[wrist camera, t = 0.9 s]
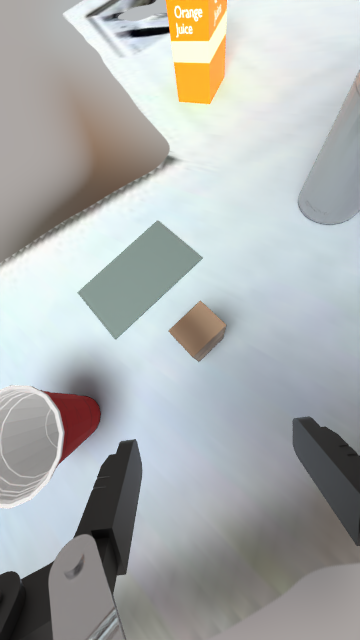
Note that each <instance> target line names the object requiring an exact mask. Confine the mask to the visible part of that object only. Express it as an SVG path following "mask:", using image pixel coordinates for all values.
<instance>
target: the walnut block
mask: <svg viewBox="0 0 360 640" xmlns="http://www.w3.org/2000/svg"><path fill="white" fill-rule="evenodd" d="M225 329H226V324H225V323H224V322H223V321H222V320H221V319H220V318H219V317H217V316H216V315H215V314H214V313H213V312H212V311H211V310H210V309H209V308H208V307H207V306H206V305H205V304H203V303H202V302H201V301H199V302H198V303H197V304H196V305H195V306H194V307H193V308H192V309H191V310H190V311H189V312H188V313H187V314H186V315H185V316H184V317H182V318H181V319H180V320H179V321H178V322H177V323H176V324H175V325H174V326H173V327H172V328H171V329H170V330H169V332H170V334H171V335H172V336H173V337H174V338H175V339H176V340H177V341H178V342H179V343H180V344H181V345H182V346H183V347H184V348H185V350H186V351H187V352H188V353H189V354H190V355H191V356H192V357H193V358H194V359H196V360H197V361H200V360H201V359H203V358H204V357H205V356H206V355H207V354H208V353H209V352H210V351H211V350H212V349H213V348H214V347H215V346H216V345H217V344H218V343H219V342H220V341H221V340H222V339H223V337H224V333H225Z"/></svg>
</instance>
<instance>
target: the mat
mask: <svg viewBox="0 0 360 640" xmlns="http://www.w3.org/2000/svg"><path fill="white" fill-rule="evenodd" d="M201 259H202V257H201V256H200V255H199V254H198V253H196V252H195V251H194V250H193V249H192V248H190V247H189V246H188V245H187V244H186V243H184V242H183V241H182V240H181V239H180V238H178V237H177V236H176V235H175V234H174V233H172V232H171V231H170V230H169V229H168V228H166V227H165V226H164V225H163V224H162V223H160V222H159V221H158V220H157V221H156V222H155V223H154V224H153V225H152V226H151V227H150V228H148V229H147V230H146V231H145V232H144V233H143V234H142V235H141V236H140V237H138V238H137V239H136V240H135V241H134V242H133V243H132V244H131V245H130V246H128V247H127V248H126V249H125V250H124V251H123V252H122V253H121V254H120V255H118V256H117V257H116V258H115V259H114V260H113V261H112V262H111V263H110V264H109V265H107V266H106V267H105V268H104V269H103V270H102V271H101V272H100V273H99V274H97V275H96V276H95V277H94V278H93V279H92V280H91V281H90V282H89V283H87V284H86V285H85V286H84V287H83V288H82V289H81V290H80V291H79V292H77V293H78V294H79V295H80V296H81V298H82V299H83V300H84V301H85V303H86V304H87V305H88V306H89V308H90V309H91V310H92V311H93V312H94V314H95V315H96V316H97V317H98V319H99V320H100V321H101V322H102V324H103V325H104V326H105V327H106V329H107V330H108V331H109V332H110V334H111V335H112V336H113V337H114V339H117V338H118V337H119V336H120V335H121V334H122V333H123V332H124V331H125V330H126V329H127V328H129V327H130V326H131V325H132V324H133V323H134V322H135V321H136V320H137V319H138V318H139V317H140V316H141V315H142V314H144V313H145V312H146V311H147V310H148V309H149V308H150V307H151V306H152V305H153V304H154V303H155V302H156V301H157V300H159V299H160V298H161V297H162V296H163V295H164V294H165V293H166V292H167V291H168V290H169V289H170V288H171V287H172V286H174V285H175V284H176V283H177V282H178V281H179V280H180V279H181V278H182V277H183V276H184V275H185V274H186V273H187V272H189V271H190V270H191V269H192V268H193V267H194V266H195V265H196V264H197V263H198V262H199V261H200V260H201Z"/></svg>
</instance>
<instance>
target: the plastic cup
mask: <svg viewBox="0 0 360 640" xmlns="http://www.w3.org/2000/svg"><path fill="white" fill-rule="evenodd" d="M100 415H101V413H100V408H99V405H98V404H97V403H96V401H95V400H94V399H92V398H90V397H88V396H78V395H74V394H62V393H50V392H46V391H42V390H38V389H36V388H34V387H33V386H15V385H10V386H8V387H6V388H3V389H1V390H0V508H7V509H10V508H13V507H15V506H17V505H20V504H22V503H25V502H27V501H30V500H31V499H32V498H33V497H34V496H35V495H36V494H37V493H38V492H39V491H40V490H41V489H42V488H43V487H44V486H45V485H46V484H47V483H48V482H49V481H50V479H51V478H52V475H53V473H54V471H55V469H56V468H57V466H58V465H59V464H60V463H61V462H62V461H63V460H64V459H65V458H66V457H67V456H68V455H70V454H71V453H72V452H73V451H74V450H75V449H76V448H77V447H78V446H79V445H80V444H81V443H82V442H83V441H84V440H86V439H87V438H88V437H89V436H90V435H91V434H92V433H93V432H94V431H95V430H96V428H97V426H98V424H99V422H100Z"/></svg>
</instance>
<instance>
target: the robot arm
mask: <svg viewBox="0 0 360 640" xmlns="http://www.w3.org/2000/svg"><path fill="white" fill-rule="evenodd" d="M298 203H299V207H300V209H301V211H302V212H303V214H304V215H305V216H306V217H308V218H309V219H311V220H313V221H315V222H318V223H322V224H338V223H342V222H345V221H347V220H349V219H351V218H352V217H354V216H355V215H356V214H357V213H358V212H359V210H360V70H359V72H358V74H357V76H356V78H355V81H354V83H353V85H352V87H351V89H350V91H349V93H348V95H347V97H346V99H345V101H344V103H343V105H342V108H341V110H340V112H339V114H338V116H337V118H336V120H335V122H334V124H333V126H332V128H331V130H330V132H329V135H328V137H327V139H326V141H325V143H324V145H323V147H322V149H321V151H320V153H319V155H318V157H317V159H316V162H315V164H314V166H313V168H312V170H311V172H310V174H309V176H308V178H307V180H306V182H305V184H304V186H303V188H302V190H301V193H300V195H299V200H298ZM293 447H294V450H295V453H296V455H297V457H298V458H299V460H300V461H301V463H302V464H303V466H304V467H305V469H306V470H307V472H308V473H309V475H310V476H311V478H312V479H313V481H314V482H315V484H316V485H317V487H318V488H319V490H320V491H321V493H322V494H323V496H324V497H325V499H326V500H327V502H328V503H329V505H330V506H331V508H332V509H333V511H334V512H335V514H336V515H337V517H338V518H339V520H340V521H341V523H342V524H343V526H344V527H345V529H346V530H347V532H348V533H349V535H350V536H351V538H352V539H353V541H354V542H355V544H356V545H357V546H360V456H358V454H357V453H356V452H355V451H354V450H353V449H352V448H351V447H349V445H348V444H347V443H346V442H345V441H344V440H343V439H342V438H341V437H340V436H339V435H338V434H337V433H335V432H333V431H332V430H330V429H328V428H327V427H320V426H319V425H318V424H317V423H316V422H315V420H314V419H313V418H311V417H309V416H308V417H301V418H294V419H293ZM141 480H142V462H141V457H140V453H139V449H138V444H137V441H136V439H134V440H126V441H121V442H120V443H119V446H118V449H117V452H116V454H113V455H109V456H108V458H107V459H106V460H105V462H104V463H103V464H102V466H101V469H100V471H99V474H98V476H97V480H96V482H95V484H94V487H93V490H92V492H91V495H90V497H89V500H88V503H87V505H86V508H85V510H84V513H83V516H82V518H81V521H80V523H79V526H78V529H77V531H76V533H75V536H74V538H73V539H72V540H71V541H69V542H68V543H67V544H66V545H65V546H64V547H63V548H62V550H61V551H60V552H59V554H58V555H57V557H56V559H55V560H54V561H53V562H52V563H50V564H49V565H47V566H45V567H43V568H41V569H40V570H38V571H36V572H34V573H32V574H30V575H28V576H26V577H25V578H23V579H20V577H19V575H18V574H17V573H16V572H13V571H10V572H6V573H3V574H1V575H0V640H126V636H125V633H124V630H123V626H122V623H121V619H120V616H119V613H118V609H117V606H116V603H115V599H114V596H113V592H114V587H115V582H116V577H117V575H124V574H126V571H127V565H128V559H129V553H130V547H131V541H132V535H133V529H134V523H135V516H136V510H137V504H138V498H139V492H140V486H141Z"/></svg>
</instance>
